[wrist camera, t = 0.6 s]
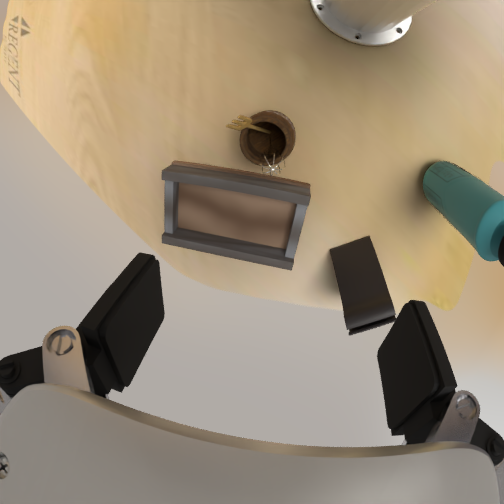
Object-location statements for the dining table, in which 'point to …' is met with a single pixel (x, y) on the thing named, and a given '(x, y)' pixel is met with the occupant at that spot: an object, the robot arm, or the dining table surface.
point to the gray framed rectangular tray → (234, 213)
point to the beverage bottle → (468, 207)
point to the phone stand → (362, 286)
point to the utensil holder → (266, 138)
